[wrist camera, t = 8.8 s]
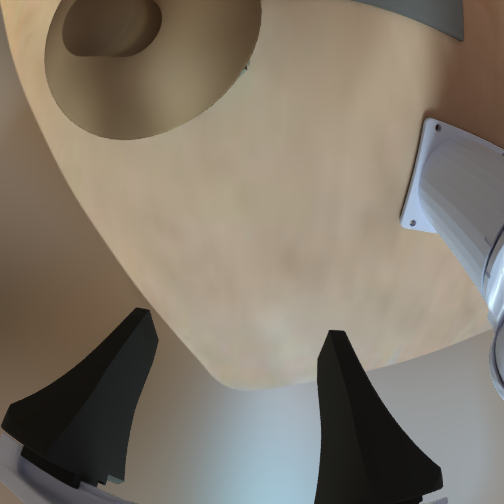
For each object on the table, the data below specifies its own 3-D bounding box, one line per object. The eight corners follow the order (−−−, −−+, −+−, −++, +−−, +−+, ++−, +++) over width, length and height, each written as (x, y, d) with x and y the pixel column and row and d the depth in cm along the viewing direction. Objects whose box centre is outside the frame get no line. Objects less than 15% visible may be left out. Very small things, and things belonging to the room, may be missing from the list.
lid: (274, -67, 5) (271, -105, 2) (246, 143, 12) (233, 167, 9) (68, -31, 6) (26, -39, 2) (54, 139, 12) (10, 162, 9)
